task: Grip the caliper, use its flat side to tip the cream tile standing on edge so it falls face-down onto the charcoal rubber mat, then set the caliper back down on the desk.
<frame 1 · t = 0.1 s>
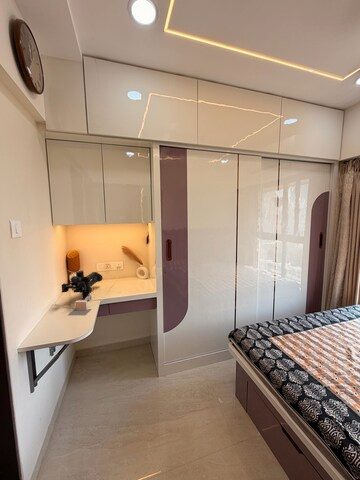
hand: (67, 291, 154), 17 cm above the table, tool horizontal, fingers open, 9 cm apart
caliper: (83, 305, 168), on the table, touching rubber mat
rubber mat: (79, 312, 156), on the table
glazed tile: (82, 309, 159), resting on rubber mat
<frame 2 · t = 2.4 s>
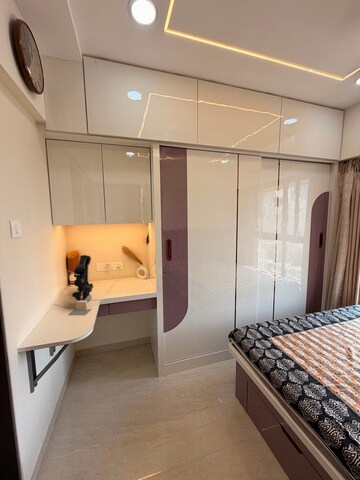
hand: (82, 300, 168), 4 cm above the table, tool pointing down, fingers open, 9 cm apart
caliper: (83, 305, 168), on the table, touching gripper, rubber mat
everything else where it was.
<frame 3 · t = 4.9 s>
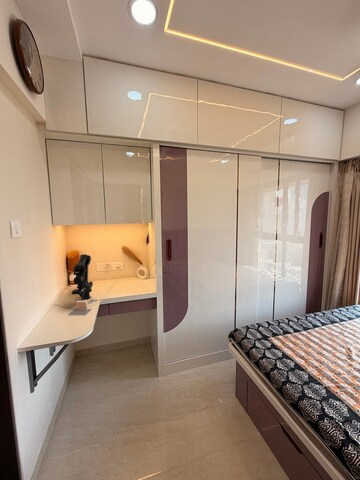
hand: (82, 298, 167), 6 cm above the table, tool pointing down, fingers closed
caliper: (83, 304, 168), point 1 cm above the table, touching rubber mat
everything else where it was.
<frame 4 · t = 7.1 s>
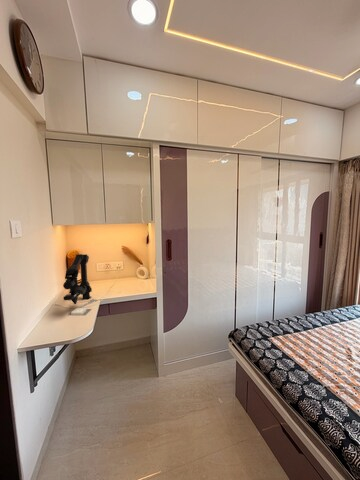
hand: (75, 304, 157), 6 cm above the table, tool pointing down, fingers closed
glazed tile: (81, 309, 158), point 1 cm above the table, tilted 90°, touching rubber mat
everything else where it was.
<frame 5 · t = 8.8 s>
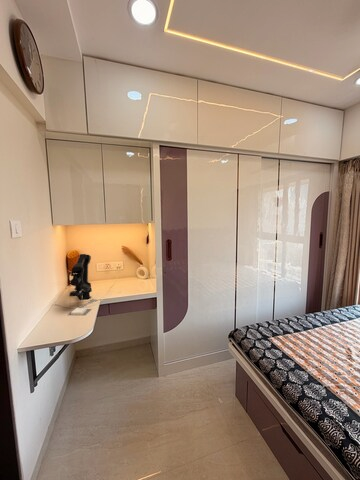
hand: (80, 300, 164), 6 cm above the table, tool pointing down, fingers closed
nothing on the table moved.
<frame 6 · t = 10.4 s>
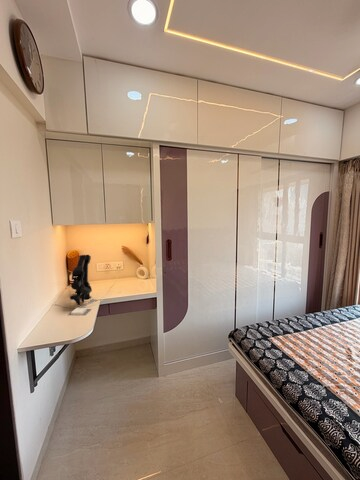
hand: (81, 303, 165), 3 cm above the table, tool pointing down, fingers open, 6 cm apart
nothing on the table moved.
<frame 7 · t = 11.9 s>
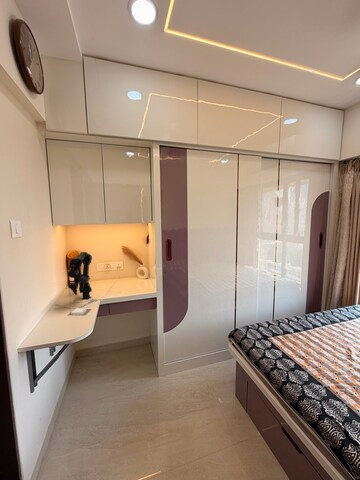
hand: (79, 292, 165), 12 cm above the table, tool pointing down, fingers open, 9 cm apart
nothing on the table moved.
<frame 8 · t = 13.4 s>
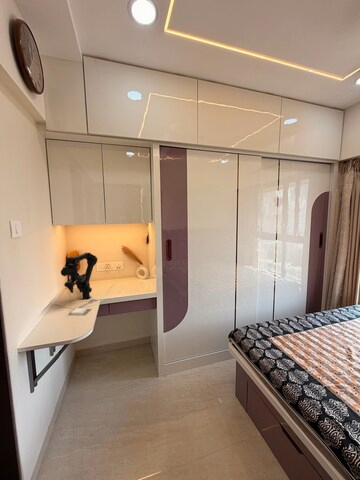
hand: (75, 290, 168), 12 cm above the table, tool pointing down, fingers open, 9 cm apart
nothing on the table moved.
at the end: glazed tile tilted 90°; glazed tile inside the target area on the rubber mat (3.7 cm from its centre), point 1.5 cm above the rubber mat's base; caliper touching rubber mat, table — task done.
